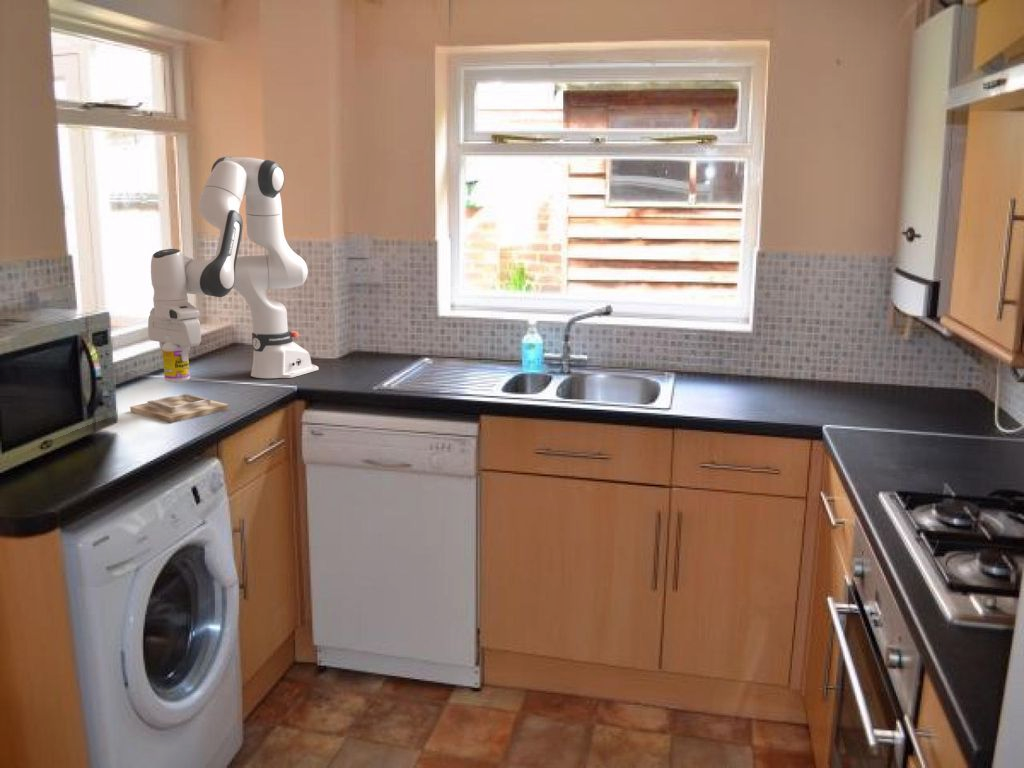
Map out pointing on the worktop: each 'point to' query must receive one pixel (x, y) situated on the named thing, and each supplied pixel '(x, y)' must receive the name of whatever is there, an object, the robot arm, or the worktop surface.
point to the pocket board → (179, 407)
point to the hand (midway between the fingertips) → (176, 359)
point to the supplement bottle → (174, 362)
